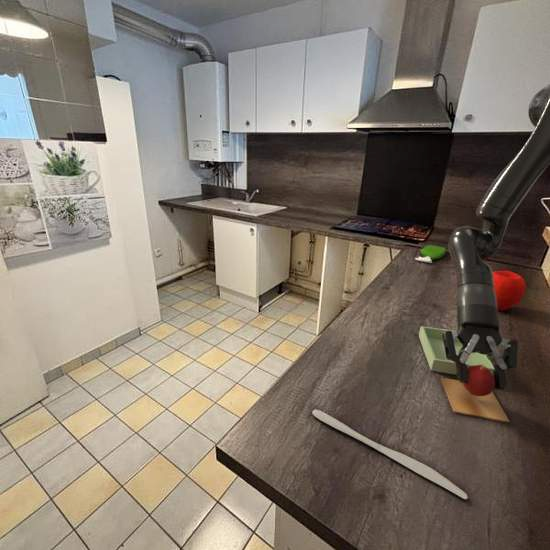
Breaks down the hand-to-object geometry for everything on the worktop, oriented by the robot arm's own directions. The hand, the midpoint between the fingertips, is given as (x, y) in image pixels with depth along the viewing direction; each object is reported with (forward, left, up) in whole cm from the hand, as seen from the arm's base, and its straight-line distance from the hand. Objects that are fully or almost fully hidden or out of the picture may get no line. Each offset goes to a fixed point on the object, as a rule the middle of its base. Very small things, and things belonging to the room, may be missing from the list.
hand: (481, 385), depth 60 cm
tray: (-1, -17, -5) cm, 17 cm away
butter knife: (+20, +16, -5) cm, 26 cm away
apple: (-23, -50, -5) cm, 55 cm away
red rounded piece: (0, -2, -4) cm, 5 cm away
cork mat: (0, -2, -5) cm, 5 cm away
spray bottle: (-13, -102, -5) cm, 103 cm away
